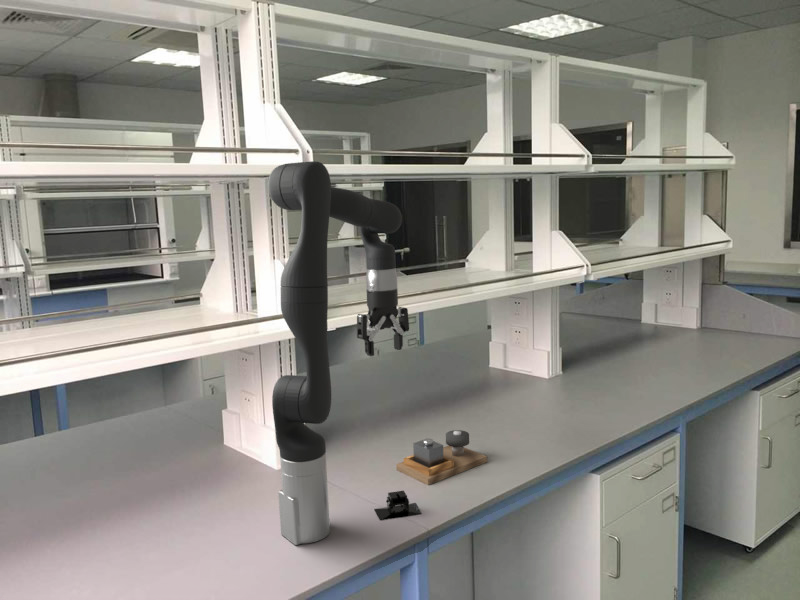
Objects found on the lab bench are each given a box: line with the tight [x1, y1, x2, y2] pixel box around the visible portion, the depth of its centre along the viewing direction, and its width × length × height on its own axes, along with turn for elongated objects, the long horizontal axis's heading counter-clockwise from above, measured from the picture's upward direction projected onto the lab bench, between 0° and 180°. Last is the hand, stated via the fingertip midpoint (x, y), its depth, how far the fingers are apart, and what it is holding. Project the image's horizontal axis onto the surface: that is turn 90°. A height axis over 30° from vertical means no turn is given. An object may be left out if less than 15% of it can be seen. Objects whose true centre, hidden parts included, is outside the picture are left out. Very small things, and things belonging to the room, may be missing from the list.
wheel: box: [445, 429, 470, 447], centre depth 170 cm, size 6×6×3 cm
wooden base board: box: [396, 445, 488, 486], centre depth 167 cm, size 20×12×4 cm, turn 129°
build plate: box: [374, 490, 423, 521], centre depth 144 cm, size 12×7×5 cm, turn 104°
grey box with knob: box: [412, 438, 444, 468], centre depth 164 cm, size 5×6×6 cm
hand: (384, 352), depth 162 cm, fingers open, 8 cm apart
